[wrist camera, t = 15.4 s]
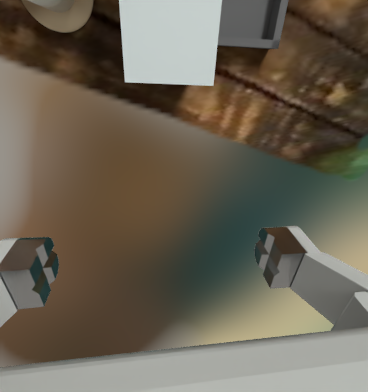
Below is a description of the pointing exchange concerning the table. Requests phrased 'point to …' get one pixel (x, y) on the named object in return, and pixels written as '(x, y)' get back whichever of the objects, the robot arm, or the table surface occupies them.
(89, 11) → the coaster
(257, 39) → the tray
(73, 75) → the table surface
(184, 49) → the tunnel
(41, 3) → the shaker
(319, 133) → the table surface
